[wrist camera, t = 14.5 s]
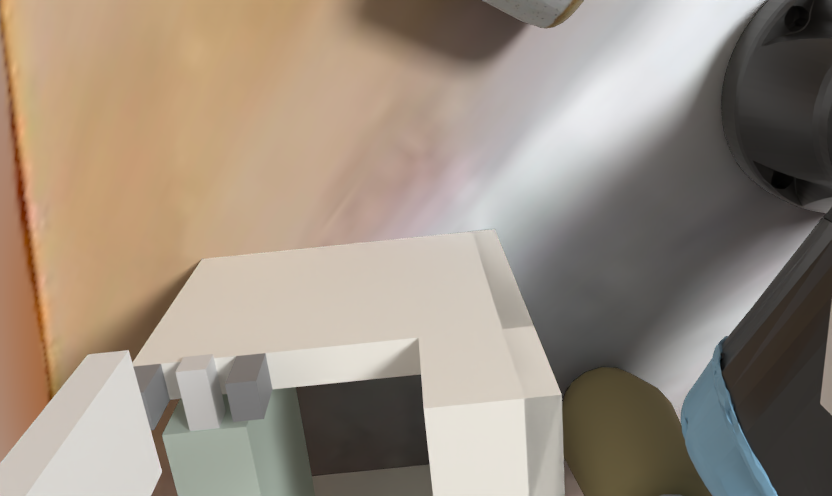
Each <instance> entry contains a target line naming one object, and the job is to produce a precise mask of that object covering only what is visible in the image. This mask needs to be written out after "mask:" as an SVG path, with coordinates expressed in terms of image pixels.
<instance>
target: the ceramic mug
mask: <svg viewBox="0 0 832 496" xmlns="http://www.w3.org/2000/svg"><path fill="white" fill-rule="evenodd" d="M482 1H484V2H486V3H488V4H490V5H492V6H494V7H495V8H497V9H499V10H501V11H503V12H505V13H507V14H509V15H511V16H512V17H514V18H516V19H518V20H520V21H522V22H525V23H528V24H531V25H535V26H538V27H540V28H551V27H555V26H557V25H559V24H561V23H563V22H564V21H565V20H567V19H568V18H569V17H570V16H571V15H572V14H573V13H574V12H575V11H576V10H577V8H578V7H579V6H580V5H581V4H582V2H583V1H584V0H482Z"/></svg>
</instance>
